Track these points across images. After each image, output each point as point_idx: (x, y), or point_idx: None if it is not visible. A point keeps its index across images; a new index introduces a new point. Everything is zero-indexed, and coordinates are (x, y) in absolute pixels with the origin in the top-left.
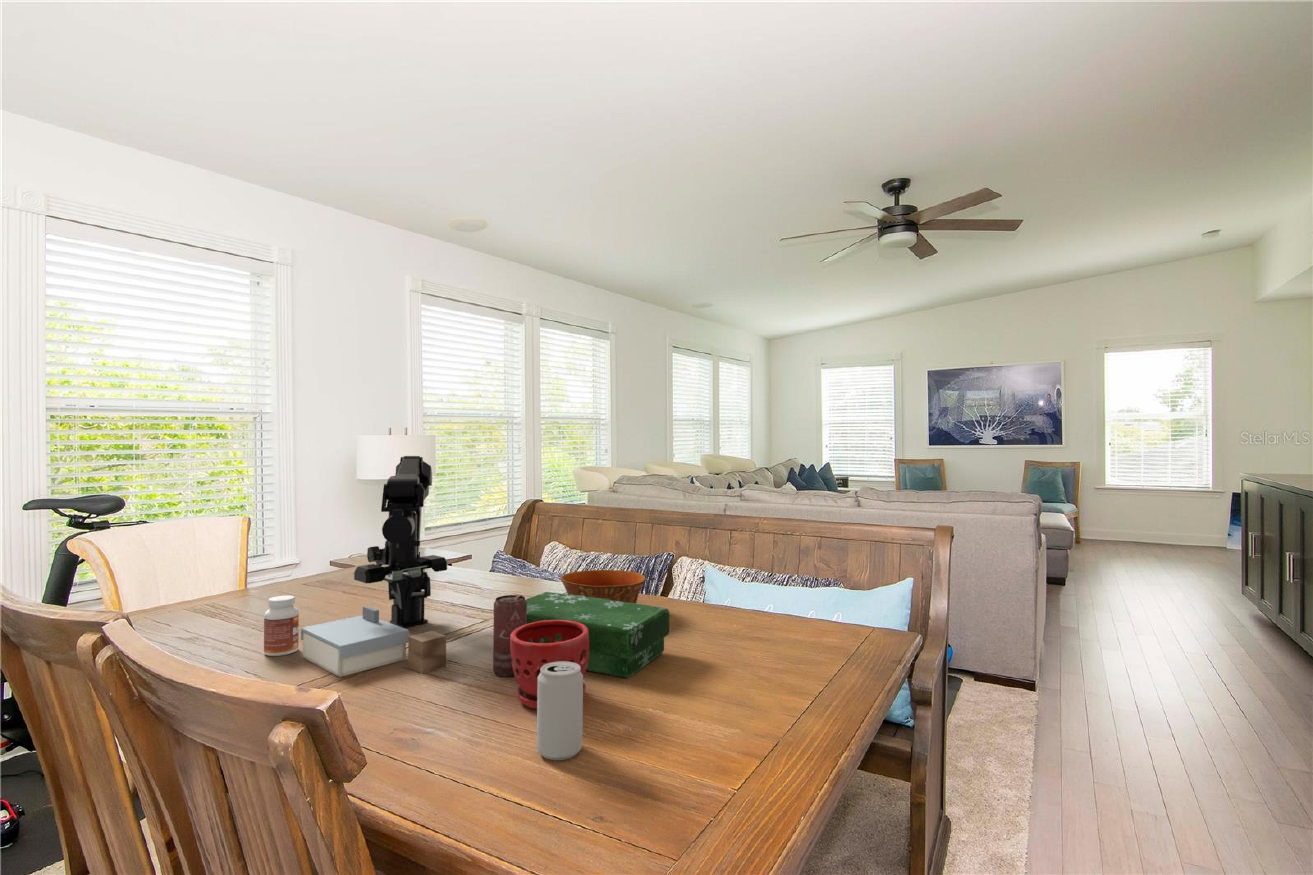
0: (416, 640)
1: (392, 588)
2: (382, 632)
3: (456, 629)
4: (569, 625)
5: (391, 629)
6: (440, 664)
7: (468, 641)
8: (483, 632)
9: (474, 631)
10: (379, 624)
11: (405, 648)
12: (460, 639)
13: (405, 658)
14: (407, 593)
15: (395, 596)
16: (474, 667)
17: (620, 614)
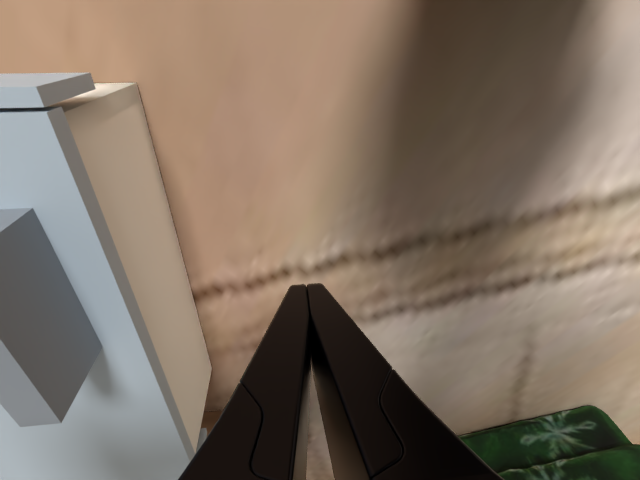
0: None
1: (201, 464)
2: (87, 469)
3: (549, 203)
4: None
5: (135, 457)
6: None
7: (447, 341)
8: (552, 298)
9: (551, 271)
10: (96, 382)
11: (204, 401)
12: (450, 313)
13: (210, 371)
14: (331, 461)
15: (254, 360)
16: (317, 467)
17: None
